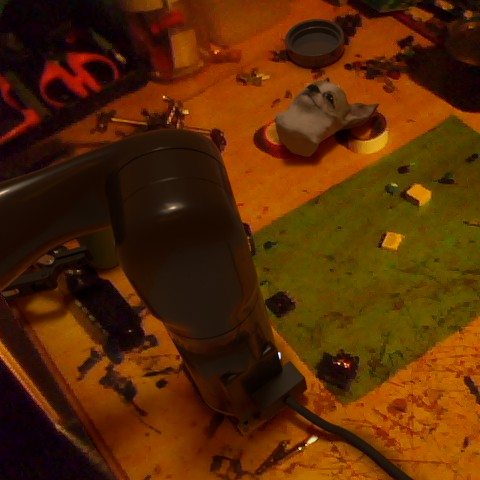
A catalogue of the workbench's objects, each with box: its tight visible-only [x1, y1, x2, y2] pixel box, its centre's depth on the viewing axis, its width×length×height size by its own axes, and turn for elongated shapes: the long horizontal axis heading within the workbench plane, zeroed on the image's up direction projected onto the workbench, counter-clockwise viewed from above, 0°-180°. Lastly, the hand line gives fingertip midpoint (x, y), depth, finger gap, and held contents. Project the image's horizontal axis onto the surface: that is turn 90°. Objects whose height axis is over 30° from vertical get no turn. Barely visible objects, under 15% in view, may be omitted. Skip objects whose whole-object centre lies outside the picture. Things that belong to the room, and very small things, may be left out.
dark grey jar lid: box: [284, 18, 346, 69], centre depth 104 cm, size 9×9×2 cm
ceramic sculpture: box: [273, 77, 380, 158], centre depth 91 cm, size 11×9×15 cm
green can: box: [75, 227, 120, 270], centre depth 81 cm, size 5×5×8 cm
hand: (88, 224), depth 80 cm, fingers open, 8 cm apart
